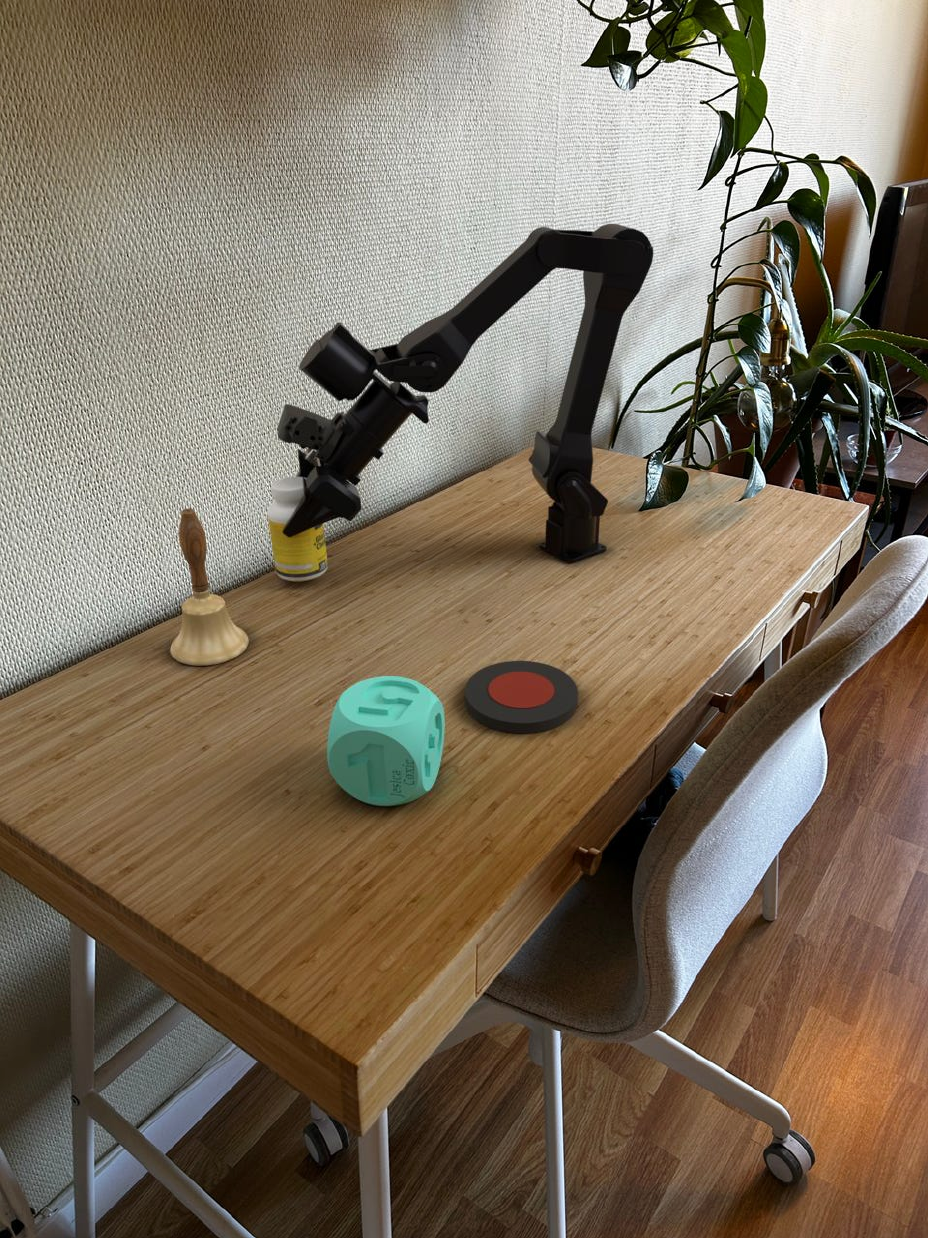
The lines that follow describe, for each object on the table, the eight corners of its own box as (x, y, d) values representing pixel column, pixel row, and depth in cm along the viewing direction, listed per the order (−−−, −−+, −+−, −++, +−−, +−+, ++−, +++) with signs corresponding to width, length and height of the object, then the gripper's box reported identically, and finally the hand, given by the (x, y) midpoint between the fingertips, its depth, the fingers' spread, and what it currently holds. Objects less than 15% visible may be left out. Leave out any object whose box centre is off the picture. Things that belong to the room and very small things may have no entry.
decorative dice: (330, 800, 77) (322, 722, 73) (361, 744, 83) (354, 670, 80) (422, 813, 75) (418, 734, 71) (446, 755, 82) (443, 680, 78)
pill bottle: (318, 585, 110) (307, 494, 104) (267, 581, 111) (254, 491, 105) (335, 562, 115) (326, 474, 110) (287, 559, 117) (275, 472, 111)
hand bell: (263, 634, 102) (244, 499, 94) (222, 672, 95) (198, 530, 87) (199, 623, 104) (175, 491, 96) (154, 659, 97) (125, 520, 90)
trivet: (529, 659, 96) (529, 648, 95) (601, 706, 88) (602, 695, 87) (443, 694, 90) (442, 683, 90) (511, 748, 83) (511, 736, 82)
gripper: (308, 362, 111) (229, 458, 114) (320, 403, 95) (227, 513, 98) (377, 419, 116) (300, 510, 119) (399, 468, 100) (309, 570, 103)
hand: (284, 523), depth 110 cm, fingers closed on pill bottle, 6 cm apart
